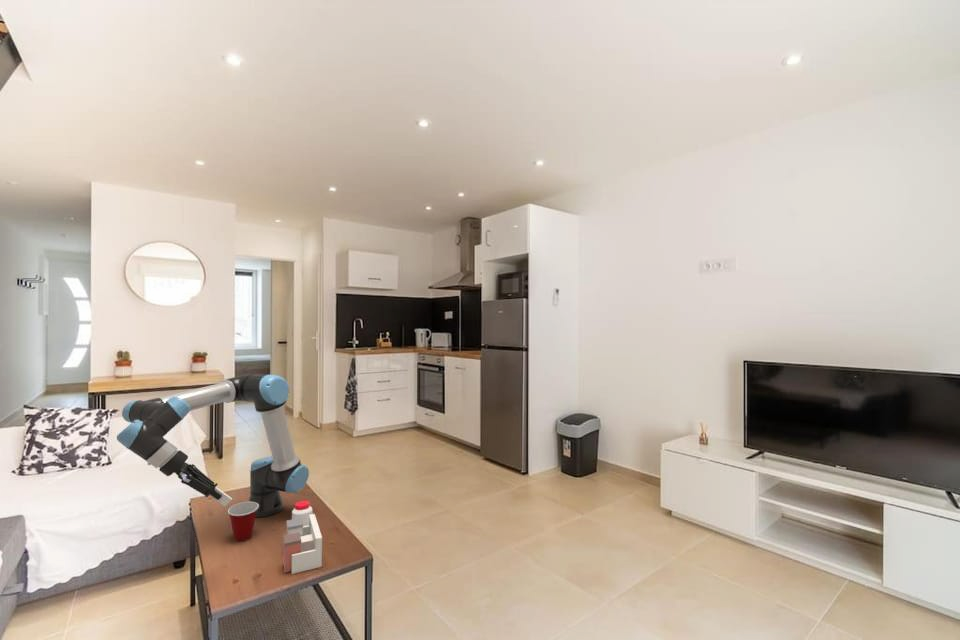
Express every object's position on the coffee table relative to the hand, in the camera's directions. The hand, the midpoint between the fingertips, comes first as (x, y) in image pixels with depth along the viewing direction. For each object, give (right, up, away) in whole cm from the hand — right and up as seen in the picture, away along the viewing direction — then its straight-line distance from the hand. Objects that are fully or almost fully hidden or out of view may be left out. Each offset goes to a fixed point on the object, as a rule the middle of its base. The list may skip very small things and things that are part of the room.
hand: (228, 502), depth 143 cm
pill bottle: (+12, -25, +31) cm, 41 cm away
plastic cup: (-9, -24, +25) cm, 36 cm away
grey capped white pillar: (+15, -24, +16) cm, 33 cm away
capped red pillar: (+19, -24, +5) cm, 31 cm away
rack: (+20, -24, +12) cm, 34 cm away
